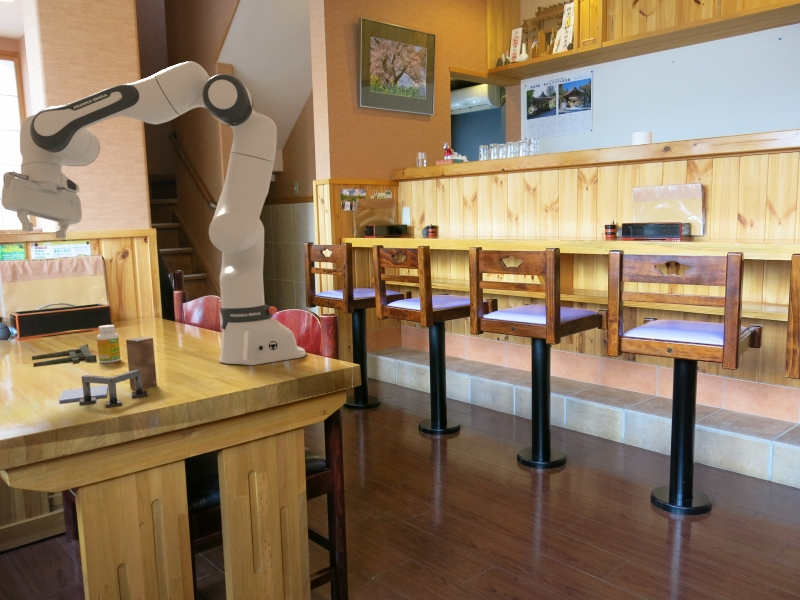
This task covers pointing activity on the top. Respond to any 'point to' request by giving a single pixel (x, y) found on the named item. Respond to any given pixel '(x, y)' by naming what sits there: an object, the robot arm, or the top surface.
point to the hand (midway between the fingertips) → (44, 234)
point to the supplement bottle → (108, 344)
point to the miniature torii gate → (74, 357)
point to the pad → (78, 394)
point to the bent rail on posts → (112, 387)
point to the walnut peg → (142, 360)
